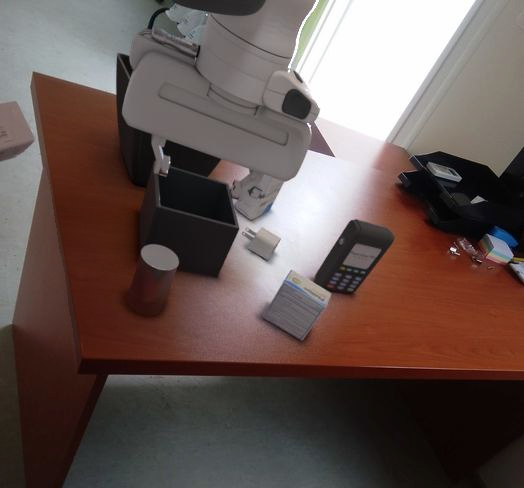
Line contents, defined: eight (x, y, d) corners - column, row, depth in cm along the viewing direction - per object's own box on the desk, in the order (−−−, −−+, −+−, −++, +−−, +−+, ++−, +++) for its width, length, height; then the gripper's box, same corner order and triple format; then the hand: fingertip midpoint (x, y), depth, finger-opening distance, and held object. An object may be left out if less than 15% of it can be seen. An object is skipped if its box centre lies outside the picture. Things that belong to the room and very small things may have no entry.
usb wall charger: (266, 261, 88) (275, 245, 86) (236, 243, 88) (244, 226, 86) (273, 253, 91) (281, 237, 89) (243, 234, 91) (251, 218, 89)
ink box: (253, 198, 103) (275, 150, 95) (271, 211, 102) (294, 164, 94) (233, 207, 96) (255, 157, 89) (252, 221, 96) (275, 172, 88)
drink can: (126, 312, 65) (141, 265, 59) (127, 287, 68) (140, 240, 62) (163, 318, 67) (180, 273, 61) (161, 294, 70) (177, 248, 64)
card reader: (316, 291, 89) (358, 229, 79) (310, 277, 91) (350, 215, 81) (354, 297, 93) (398, 239, 83) (347, 284, 96) (389, 226, 86)
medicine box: (308, 328, 80) (333, 293, 74) (301, 342, 77) (327, 307, 71) (269, 304, 80) (291, 267, 74) (261, 318, 77) (283, 280, 71)
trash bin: (140, 261, 73) (156, 206, 66) (139, 213, 81) (153, 160, 74) (217, 277, 79) (239, 228, 72) (209, 231, 87) (228, 183, 80)
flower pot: (100, 136, 93) (116, 48, 82) (187, 155, 103) (211, 79, 92) (118, 192, 83) (139, 100, 72) (212, 206, 93) (242, 128, 82)
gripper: (135, 28, 40) (106, 170, 49) (333, 116, 48) (277, 224, 57) (138, 8, 44) (111, 142, 53) (321, 92, 52) (270, 196, 61)
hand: (198, 185), depth 55 cm, fingers open, 8 cm apart
